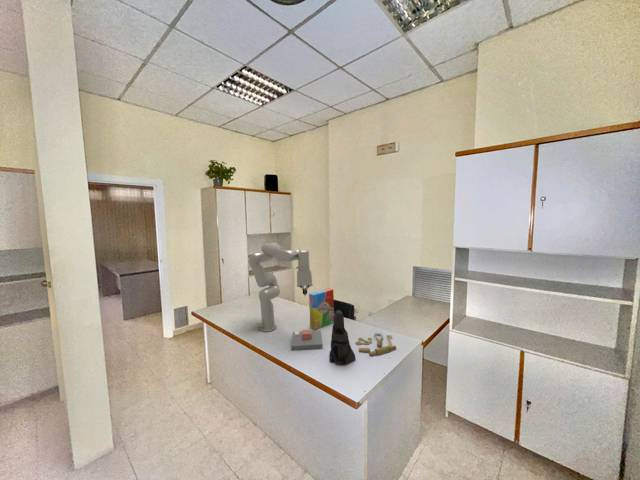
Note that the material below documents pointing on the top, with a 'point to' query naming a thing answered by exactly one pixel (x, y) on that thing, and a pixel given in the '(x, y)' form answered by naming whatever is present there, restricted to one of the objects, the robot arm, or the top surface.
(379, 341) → the toy baking set
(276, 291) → the robot arm
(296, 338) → the socket
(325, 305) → the game box
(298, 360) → the top surface
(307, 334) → the pink block
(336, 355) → the black tall figure
